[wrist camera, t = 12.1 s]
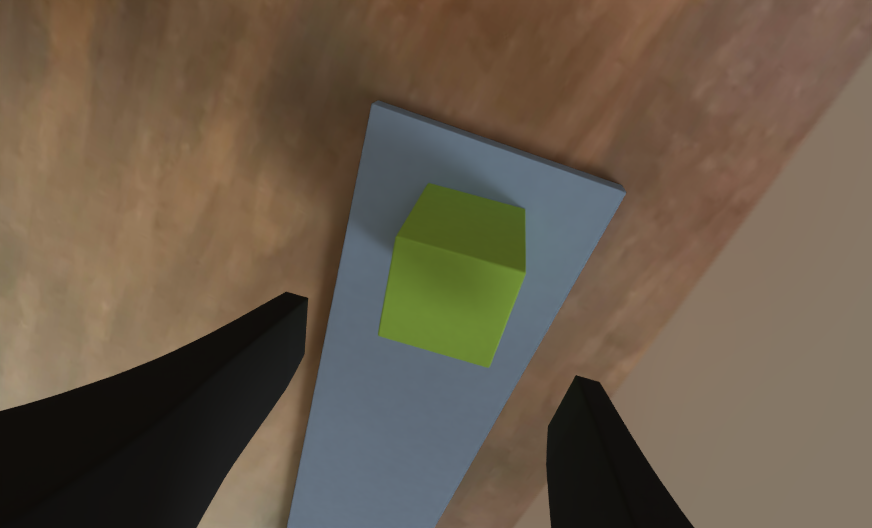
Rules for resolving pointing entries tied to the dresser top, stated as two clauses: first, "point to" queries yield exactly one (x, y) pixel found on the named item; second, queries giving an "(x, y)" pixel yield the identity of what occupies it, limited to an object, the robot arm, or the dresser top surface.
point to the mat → (414, 367)
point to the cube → (455, 274)
